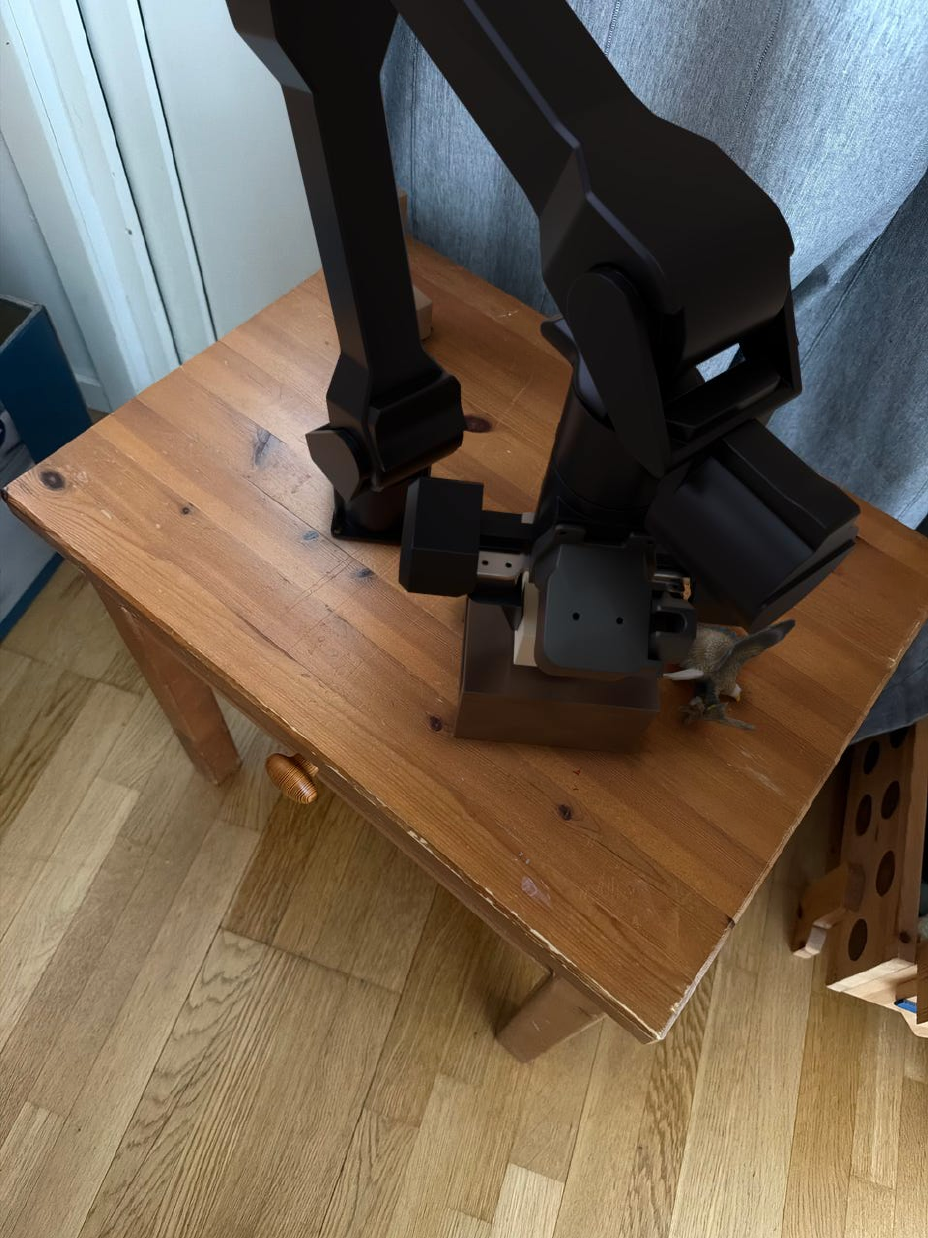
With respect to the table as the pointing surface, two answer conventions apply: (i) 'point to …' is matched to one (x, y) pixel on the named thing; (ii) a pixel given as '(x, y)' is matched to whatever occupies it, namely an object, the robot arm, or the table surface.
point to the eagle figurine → (722, 668)
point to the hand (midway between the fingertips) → (552, 627)
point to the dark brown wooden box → (542, 695)
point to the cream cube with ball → (527, 625)
